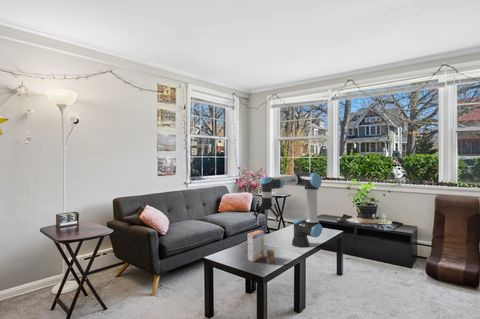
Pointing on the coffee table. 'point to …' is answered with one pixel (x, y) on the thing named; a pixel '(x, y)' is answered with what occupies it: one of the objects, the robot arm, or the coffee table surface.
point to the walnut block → (270, 256)
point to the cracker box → (255, 245)
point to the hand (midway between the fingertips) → (266, 225)
